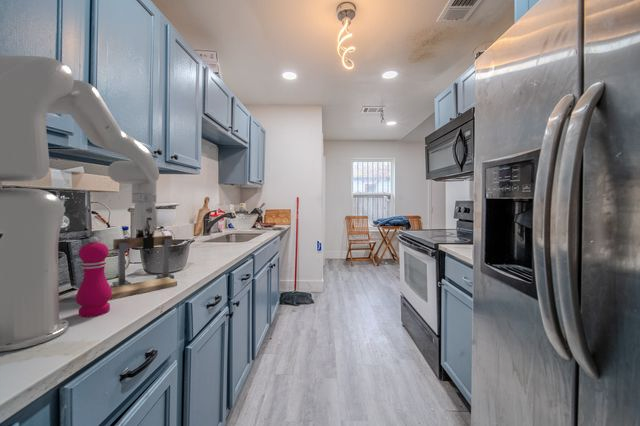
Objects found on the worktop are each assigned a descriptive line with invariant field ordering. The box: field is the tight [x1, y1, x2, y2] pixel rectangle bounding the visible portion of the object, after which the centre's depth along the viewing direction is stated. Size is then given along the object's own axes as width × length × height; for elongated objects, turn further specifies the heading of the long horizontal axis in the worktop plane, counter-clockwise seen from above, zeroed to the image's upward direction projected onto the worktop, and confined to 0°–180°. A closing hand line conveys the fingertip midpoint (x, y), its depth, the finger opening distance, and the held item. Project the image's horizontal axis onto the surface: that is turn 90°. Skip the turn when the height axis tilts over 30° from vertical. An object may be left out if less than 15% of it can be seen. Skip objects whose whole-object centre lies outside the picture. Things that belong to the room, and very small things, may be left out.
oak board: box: [108, 277, 178, 301], centre depth 89 cm, size 22×8×2 cm, turn 139°
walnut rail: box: [112, 234, 173, 251], centre depth 98 cm, size 18×2×3 cm, turn 139°
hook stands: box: [111, 239, 175, 287], centre depth 99 cm, size 18×6×15 cm, turn 139°
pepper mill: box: [75, 236, 112, 318], centre depth 70 cm, size 7×7×20 cm
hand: (144, 247), depth 98 cm, fingers open, 7 cm apart
